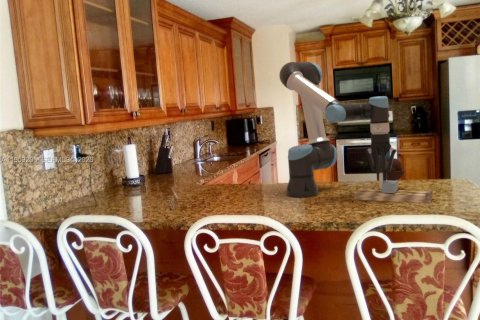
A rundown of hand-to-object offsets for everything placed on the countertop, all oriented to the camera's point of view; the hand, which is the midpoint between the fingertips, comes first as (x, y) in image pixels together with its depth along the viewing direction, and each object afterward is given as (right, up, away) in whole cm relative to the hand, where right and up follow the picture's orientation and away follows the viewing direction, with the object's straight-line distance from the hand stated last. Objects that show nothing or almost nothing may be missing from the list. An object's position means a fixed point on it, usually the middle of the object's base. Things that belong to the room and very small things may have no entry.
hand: (382, 188), depth 175 cm
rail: (+4, -5, -1) cm, 6 cm away
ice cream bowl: (+11, -2, +17) cm, 21 cm away
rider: (+3, -3, -1) cm, 5 cm away
